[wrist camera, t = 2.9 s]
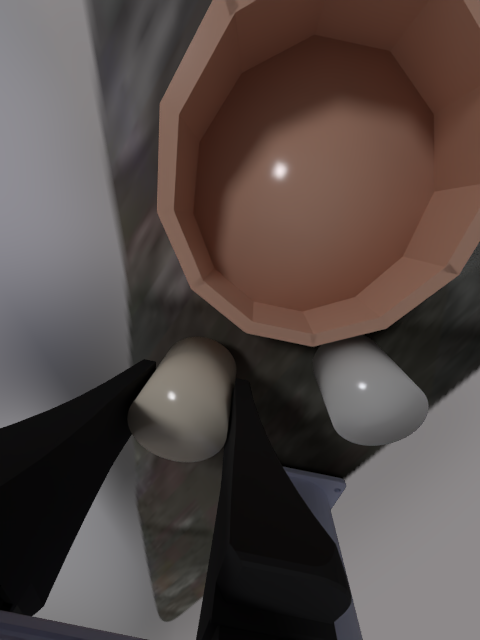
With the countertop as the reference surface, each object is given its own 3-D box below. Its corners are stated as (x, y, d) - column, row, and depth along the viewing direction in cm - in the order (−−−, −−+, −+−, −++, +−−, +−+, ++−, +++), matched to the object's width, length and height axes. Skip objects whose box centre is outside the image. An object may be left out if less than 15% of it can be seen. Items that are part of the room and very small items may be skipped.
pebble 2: (364, 393, 14) (399, 452, 11) (303, 381, 14) (319, 436, 11) (393, 341, 13) (448, 389, 9) (325, 327, 13) (352, 370, 9)
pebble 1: (229, 401, 13) (218, 470, 10) (164, 388, 13) (128, 451, 10) (242, 345, 12) (235, 401, 8) (167, 329, 12) (126, 379, 8)
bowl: (371, 333, 12) (403, 365, 10) (177, 293, 12) (154, 314, 10) (508, 60, 8) (643, -27, 5) (198, -7, 8) (166, -132, 5)
